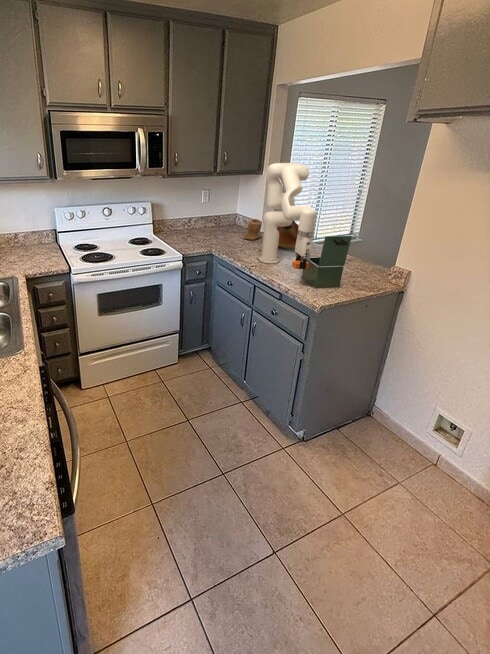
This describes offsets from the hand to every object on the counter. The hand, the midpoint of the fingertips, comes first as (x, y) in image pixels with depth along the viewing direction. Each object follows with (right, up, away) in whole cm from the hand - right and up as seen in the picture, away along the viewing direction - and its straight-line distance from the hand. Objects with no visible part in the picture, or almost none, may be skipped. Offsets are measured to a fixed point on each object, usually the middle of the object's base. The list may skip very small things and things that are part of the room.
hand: (300, 266), depth 188 cm
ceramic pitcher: (+15, +15, +67) cm, 70 cm away
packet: (0, 0, 0) cm, 0 cm away
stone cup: (-3, +23, +87) cm, 90 cm away
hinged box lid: (+14, +8, -8) cm, 18 cm away
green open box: (+14, -8, +7) cm, 18 cm away
